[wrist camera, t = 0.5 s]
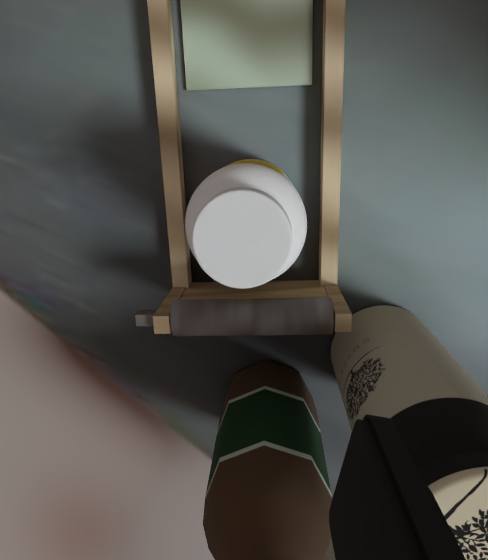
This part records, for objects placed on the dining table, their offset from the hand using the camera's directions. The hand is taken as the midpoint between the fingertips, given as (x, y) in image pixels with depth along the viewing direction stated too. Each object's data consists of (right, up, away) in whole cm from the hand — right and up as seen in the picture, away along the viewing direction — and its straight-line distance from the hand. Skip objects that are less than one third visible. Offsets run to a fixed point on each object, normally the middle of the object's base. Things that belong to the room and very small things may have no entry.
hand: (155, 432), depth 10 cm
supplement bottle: (+3, +9, +22) cm, 24 cm away
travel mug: (+13, -2, +25) cm, 28 cm away
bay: (+3, +15, +20) cm, 25 cm away
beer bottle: (+4, -6, +27) cm, 28 cm away
